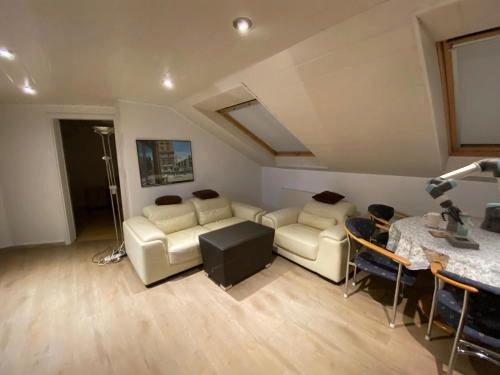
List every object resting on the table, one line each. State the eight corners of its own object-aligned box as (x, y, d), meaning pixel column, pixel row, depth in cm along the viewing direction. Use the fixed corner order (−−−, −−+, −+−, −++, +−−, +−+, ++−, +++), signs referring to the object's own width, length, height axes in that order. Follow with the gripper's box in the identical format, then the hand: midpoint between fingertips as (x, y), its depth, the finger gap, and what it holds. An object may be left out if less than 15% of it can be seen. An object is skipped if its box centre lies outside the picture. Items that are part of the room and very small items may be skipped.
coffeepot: (464, 231, 180) (467, 211, 177) (461, 234, 175) (464, 213, 172) (441, 226, 193) (443, 207, 189) (437, 229, 188) (440, 209, 184)
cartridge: (465, 233, 159) (468, 212, 156) (469, 236, 154) (472, 215, 151) (454, 232, 162) (457, 212, 158) (458, 235, 156) (461, 214, 153)
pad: (452, 233, 177) (452, 232, 176) (459, 239, 166) (459, 238, 166) (428, 231, 183) (428, 230, 183) (433, 237, 173) (433, 235, 173)
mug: (421, 225, 198) (422, 213, 196) (423, 223, 203) (424, 211, 201) (437, 228, 189) (439, 215, 187) (439, 226, 194) (441, 213, 192)
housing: (468, 241, 162) (469, 236, 161) (478, 249, 150) (479, 244, 149) (445, 239, 168) (446, 234, 167) (453, 246, 156) (453, 241, 155)
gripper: (445, 202, 171) (470, 227, 160) (433, 206, 164) (458, 232, 152) (454, 197, 166) (481, 222, 154) (442, 200, 158) (469, 228, 146)
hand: (469, 227), depth 153 cm, fingers closed on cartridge, 6 cm apart
